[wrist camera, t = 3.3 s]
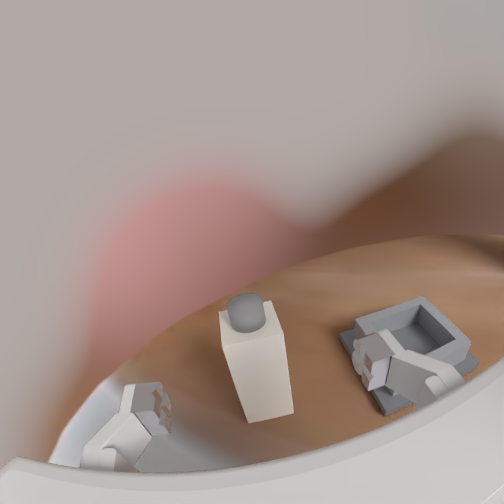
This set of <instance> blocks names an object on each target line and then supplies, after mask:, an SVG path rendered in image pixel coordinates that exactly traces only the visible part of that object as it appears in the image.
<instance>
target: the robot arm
mask: <svg viewBox="0 0 504 504" xmlns="http://www.w3.org/2000/svg"><path fill="white" fill-rule="evenodd" d="M353 347H354V348H355V351H354V352H353V354H352V361H353V365H354V368H355V370H356V372H357V374H360V375H362V382H363V384H364V386H365V387H366V389H367V391H370V390H373V389H376V388H378V387H381V386H384V385H385V386H386V387H388V388H390V389H392V390H393V391H395V392H397V393H399V394H400V395H402V396H404V397H406V398H408V399H409V400H411V401H413V402H415V403H416V406H415V408H414V410H413V412H412V413H410V414H408V415H405V416H403V417H401V418H399V419H397V420H395V421H392V422H390V423H388V424H385V425H383V426H381V427H378V428H376V429H373V430H371V431H368V432H366V433H363V434H361V435H358V436H355V437H352V438H350V439H347V440H344V441H341V442H338V443H335V444H332V445H329V446H325V447H322V448H319V449H315V450H312V451H308V452H305V453H301V454H297V455H293V456H289V457H285V458H280V459H276V460H271V461H266V462H261V463H256V464H250V465H244V466H238V467H231V468H223V469H215V470H205V471H193V472H176V473H140V472H139V471H138V470H137V469H135V468H134V467H133V466H134V464H135V463H136V461H137V460H138V458H139V457H140V455H141V454H142V452H143V451H144V449H145V448H146V446H147V445H148V443H149V442H150V440H151V439H152V436H163V435H170V433H171V422H170V420H169V419H168V418H169V416H170V415H171V411H172V408H171V402H170V399H169V397H168V395H167V394H166V393H164V392H163V386H162V385H161V383H160V382H149V383H137V384H126V385H125V387H124V391H123V395H122V400H121V404H120V409H119V413H116V414H115V415H114V416H113V417H112V418H111V419H110V420H109V421H108V422H107V423H106V424H105V425H104V426H103V427H102V428H101V429H100V430H99V431H98V432H97V433H96V434H95V435H94V436H93V437H92V438H91V439H90V440H89V441H88V442H87V444H86V445H85V446H84V450H83V454H82V459H81V463H80V468H75V467H68V466H62V465H57V464H52V463H47V462H41V461H37V460H33V459H29V458H26V457H21V456H18V457H15V458H13V459H12V460H10V461H9V462H8V463H7V464H5V465H4V466H3V467H2V468H1V469H0V504H504V356H503V357H502V358H500V359H499V360H498V361H496V362H495V363H494V364H492V365H491V366H489V367H488V368H487V369H485V370H484V371H482V372H481V373H479V374H478V375H476V376H475V377H473V378H472V379H470V380H469V381H467V382H466V381H465V380H464V379H463V378H462V376H461V375H460V374H459V373H458V372H457V371H456V369H455V368H454V367H453V366H452V365H450V364H448V363H445V362H442V361H439V360H436V359H433V358H430V357H428V356H425V355H422V354H419V353H416V352H414V351H411V350H406V351H405V349H404V348H403V347H402V346H401V345H400V343H399V342H398V341H397V340H396V339H395V337H394V336H393V335H392V334H391V333H390V331H389V330H388V329H386V328H385V329H382V330H380V331H377V332H374V333H371V334H368V335H365V336H362V337H359V338H356V339H354V342H353Z"/></svg>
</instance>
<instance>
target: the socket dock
mask: <svg viewBox="0 0 504 504" xmlns="http://www.w3.org/2000/svg"><path fill="white" fill-rule="evenodd" d="M385 328H386V329H388V330H389V331H390V333H391V334H392V335H393V336H394V337H395V339H396V340H397V341H398V342H399V343H400V345H401V346H402V347H403V348H404V349H405V351H406V350H411V351H414V352H416V353H419V354H422V355H425V356H428V357H430V358H433V359H436V360H439V361H442V362H445V363H448V364H450V365H452V366H453V367H454V368H455V369H456V371H457V372H458V373H459V374H460V375H461V376H464V375H466V374H467V373H469V372H470V371H472V370H473V369H475V368H476V367H477V365H478V363H479V362H478V361H477V359H476V358H475V357H474V356H473V355H472V354H471V353H470V352H469V351H468V350H469V347H470V344H471V341H470V340H469V339H468V338H467V337H466V336H465V335H464V334H463V333H462V332H461V331H460V330H459V329H458V328H457V327H456V326H455V325H454V324H453V323H452V322H451V321H450V320H449V319H448V318H447V317H445V316H444V315H443V314H442V313H441V312H440V311H439V310H438V309H437V308H436V307H435V306H434V305H433V304H431V303H430V302H429V301H428V300H427V299H426V298H425V297H424V296H420V297H418V298H415V299H412V300H410V301H407V302H404V303H401V304H398V305H396V306H393V307H390V308H387V309H384V310H381V311H378V312H375V313H372V314H369V315H365V316H362V317H359V318H356V319H355V323H354V329H350V330H347V331H344V332H341V333H339V339H340V341H341V342H342V344H343V346H344V347H345V349H346V351H347V352H348V354H349V356H350V357H351V359H352V354H353V352H354V351H355V348H354V347H353V342H354V339H356V338H359V337H362V336H365V335H368V334H371V333H374V332H377V331H380V330H382V329H385ZM361 376H362V375H361ZM370 392H371V393H372V395H373V397H374V399H375V400H376V402H377V404H378V406H379V407H380V409H381V411H382V413H383V414H384V416H387V415H389V414H391V413H394V412H396V411H398V410H400V409H403V408H405V407H407V406H409V405H411V404H413V403H415V402H413V401H411V400H409V399H408V398H406V397H404V396H402V395H400V394H399V393H397V392H395V391H393V390H392V389H390V388H388V387H386V386H385V385H384V386H381V387H378V388H376V389H373V390H370Z"/></svg>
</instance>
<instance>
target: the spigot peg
mask: <svg viewBox="0 0 504 504" xmlns="http://www.w3.org/2000/svg"><path fill="white" fill-rule="evenodd" d="M219 319H220V330H221V341H222V348H223V351H224V354H225V357H226V360H227V363H228V366H229V369H230V372H231V375H232V378H233V381H234V384H235V387H236V390H237V393H238V396H239V399H240V402H241V404H242V407H243V410H244V413H245V416H246V418H247V421H248V423H253V422H258V421H263V420H267V419H272V418H276V417H280V416H285V415H289V414H293V413H294V410H293V402H292V394H291V386H290V379H289V371H288V364H287V356H286V349H285V342H284V334H283V331H282V328H281V326H280V323H279V320H278V318H277V315H276V312H275V310H274V307H273V304H272V302H271V301H266V302H262V298H261V297H260V296H259V295H257V294H253V293H245V294H240V295H237V296H235V297H233V298H232V299H230V300H229V301H228V303H227V310H225V311H220V312H219Z"/></svg>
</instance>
